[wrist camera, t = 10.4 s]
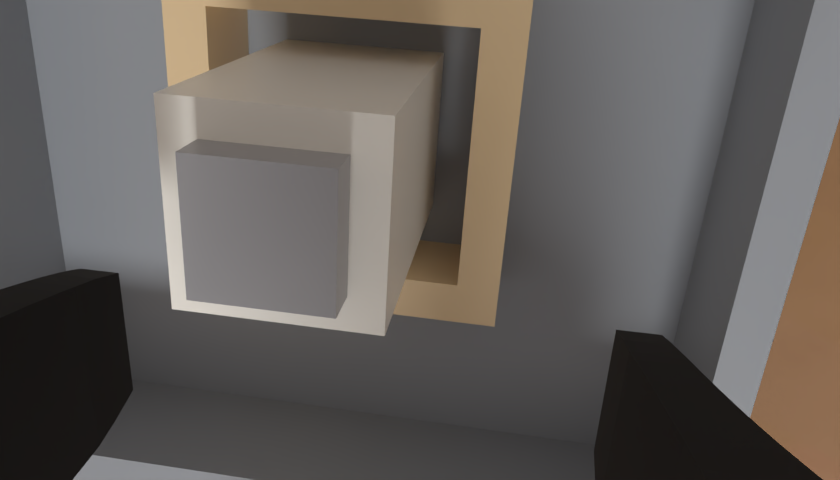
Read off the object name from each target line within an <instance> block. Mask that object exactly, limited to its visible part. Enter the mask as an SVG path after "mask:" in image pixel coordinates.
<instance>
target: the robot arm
mask: <svg viewBox="0 0 840 480" xmlns="http://www.w3.org/2000/svg"><path fill="white" fill-rule="evenodd" d="M132 391H133V384H132V376H131V368H130V360H129V352H128V344H127V336H126V328H125V320H124V312H123V303H122V295H121V287H120V279H119V273H115V272H106V271H97V270H89V269H75V270H69V271H64V272H60V273H55V274H51V275H48V276H44V277H40V278H37V279H33V280H30V281H26V282H23V283H20V284H16V285H13V286H10V287H7V288H3V289H0V480H73V479H74V477H75V476H76V475H77V474H78V472H79V471H80V470H81V469H82V467H83V466H84V465H85V464H86V462H87V461H88V460H89V459H90V457H91V456H92V455H93V454H94V452H95V451H96V450H97V448H98V447H99V446H100V444H101V443H102V441H103V440H104V438H105V436H106V435H107V433H108V432H109V430H110V429H111V427H112V425H113V424H114V422H115V421H116V419H117V417H118V415H119V414H120V412H121V410H122V408H123V407H124V405H125V403H126V402H127V400H128V398H129V396H130V395H131V393H132ZM594 467H595V480H822V479H821V478H820V477H819V476H817V475H816V474H815V473H814V472H813V471H811V470H810V469H809V468H808V467H807V466H805V465H804V464H803V463H802V462H800V461H799V460H798V459H797V458H796V457H794V456H793V455H792V454H791V453H790V452H788V451H787V450H786V449H785V448H784V447H782V446H781V445H780V444H779V443H778V442H776V441H775V440H774V439H773V438H772V437H771V436H770V435H768V434H767V433H766V432H765V431H764V430H763V429H762V428H760V427H759V426H758V425H757V424H756V423H755V422H754V421H753V420H752V419H750V418H749V417H748V416H747V415H746V414H745V413H744V412H743V411H742V410H741V409H740V408H738V407H737V406H736V405H735V404H734V403H733V402H732V401H731V400H730V399H729V398H728V397H727V396H726V395H725V394H724V393H723V392H722V391H721V390H719V389H718V388H717V387H716V386H715V385H714V384H713V383H712V382H711V381H710V380H709V379H708V378H707V377H706V376H705V375H704V374H703V373H702V372H701V371H700V370H699V369H698V368H697V367H696V366H695V365H694V364H693V363H692V362H691V361H690V360H689V359H688V358H687V357H686V356H685V355H684V354H683V353H681V352H680V351H679V350H678V349H677V348H676V347H675V346H674V345H673V344H672V343H671V342H670V341H669V340H668V339H666V338H665V337H664V336H663V335H658V334H650V333H641V332H632V331H623V330H616V333H615V338H614V344H613V349H612V355H611V360H610V365H609V371H608V376H607V382H606V387H605V393H604V398H603V404H602V409H601V414H600V420H599V425H598V431H597V436H596V442H595V447H594Z"/></svg>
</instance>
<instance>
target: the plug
mask: <svg viewBox="0 0 840 480" xmlns="http://www.w3.org/2000/svg"><path fill="white" fill-rule="evenodd" d="M443 58H444V53H442V52H430V51H419V50H407V49H395V48H383V47H371V46H359V45H347V44H336V43H324V42H312V41H300V40H288V39H287V40H284V41H282V42H279V43H277V44H274V45H272V46H269V47H267V48H264V49H262V50H259V51H257V52H254V53H252V54H249V55H247V56H244V57H242V58H239V59H237V60H234V61H232V62H229V63H227V64H224V65H222V66H219V67H217V68H214V69H212V70H209V71H207V72H204V73H202V74H199V75H197V76H194V77H192V78H189V79H187V80H184V81H182V82H180V83H177V84H175V85H172V86H170V87H167V88H165V89H162V90H160V91H157V92H155V93H153V95H154V107H155V118H156V130H157V142H158V153H159V165H160V176H161V188H162V200H163V211H164V223H165V235H166V246H167V258H168V270H169V281H170V293H171V305H172V309H175V310H183V311H191V312H199V313H207V314H214V315H222V316H230V317H238V318H246V319H254V320H261V321H269V322H277V323H285V324H293V325H301V326H309V327H316V328H324V329H332V330H340V331H348V332H356V333H364V334H371V335H379V336H385V334H386V331H387V328H388V326H389V323H390V320H391V317H392V315H393V312H394V309H395V306H396V304H397V301H398V298H399V295H400V293H401V290H402V287H403V285H404V282H405V279H406V276H407V274H408V271H409V268H410V265H411V263H412V260H413V257H414V254H415V252H416V249H417V246H418V243H419V241H420V238H421V235H422V233H423V230H424V227H425V224H426V222H427V219H428V216H429V213H430V211H431V208H432V205H433V194H434V181H435V167H436V153H437V140H438V126H439V112H440V99H441V85H442V71H443Z"/></svg>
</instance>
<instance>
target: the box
mask: <svg viewBox="0 0 840 480" xmlns="http://www.w3.org/2000/svg"><path fill="white" fill-rule="evenodd" d="M287 39H288V40H300V41H312V42H324V43H336V44H347V45H359V46H371V47H383V48H395V49H407V50H419V51H430V52H442V53H444V58H443V71H442V85H441V99H440V112H439V126H438V140H437V153H436V167H435V181H434V194H433V205H432V208H431V211H430V213H429V216H428V219H427V222H426V224H425V227H424V230H423V233H422V235H421V238H420V241H419V243H418V246H417V249H416V252H415V254H414V257H413V260H412V263H411V265H410V268H409V271H408V274H407V276H406V279H405V282H404V285H403V287H402V290H401V293H400V295H399V298H398V301H397V304H396V306H395V309H394V312H393V315H392V317H391V320H390V323H389V326H388V328H387V331H386V334H385V336H379V335H371V334H364V333H356V332H348V331H340V330H332V329H324V328H316V327H309V326H301V325H293V324H285V323H277V322H269V321H261V320H254V319H246V318H238V317H230V316H222V315H214V314H207V313H199V312H191V311H183V310H175V309H172V305H171V293H170V281H169V270H168V258H167V246H166V235H165V223H164V211H163V200H162V188H161V176H160V165H159V153H158V142H157V130H156V118H155V107H154V95H153V93H155V92H157V91H160V90H162V89H165V88H167V87H170V86H172V85H175V84H177V83H180V82H182V81H184V80H187V79H189V78H192V77H194V76H197V75H199V74H202V73H204V72H207V71H209V70H212V69H214V68H217V67H219V66H222V65H224V64H227V63H229V62H232V61H234V60H237V59H239V58H242V57H244V56H247V55H249V54H252V53H254V52H257V51H259V50H262V49H264V48H267V47H269V46H272V45H274V44H277V43H279V42H282V41H284V40H287ZM839 118H840V0H0V289H3V288H7V287H10V286H13V285H16V284H20V283H23V282H26V281H30V280H33V279H37V278H40V277H44V276H48V275H51V274H55V273H60V272H64V271H69V270H75V269H89V270H97V271H106V272H115V273H119V279H120V287H121V295H122V303H123V312H124V320H125V328H126V336H127V344H128V352H129V360H130V368H131V376H132V384H133V391H132V393H131V395H130V396H129V398H128V400H127V402H126V403H125V405H124V407H123V408H122V410H121V412H120V414H119V415H118V417H117V419H116V421H115V422H114V424H113V425H112V427H111V429H110V430H109V432H108V433H107V435H106V436H105V438H104V440H103V441H102V443H101V444H100V446H99V447H98V448H97V450H96V451H95V452H94V454H93V455H92V456H91V457H90V459H89V460H88V461H87V462H86V464H85V465H84V466H83V467H82V469H81V470H80V471H79V472H78V474H77V475H76V476H75V477H74V479H73V480H595V467H594V447H595V442H596V436H597V431H598V425H599V420H600V414H601V409H602V404H603V398H604V393H605V387H606V382H607V376H608V371H609V365H610V360H611V355H612V349H613V344H614V338H615V333H616V330H623V331H632V332H641V333H650V334H658V335H663V336H664V337H665V338H666V339H668V340H669V341H670V342H671V343H672V344H673V345H674V346H675V347H676V348H677V349H678V350H679V351H680V352H681V353H683V354H684V355H685V356H686V357H687V358H688V359H689V360H690V361H691V362H692V363H693V364H694V365H695V366H696V367H697V368H698V369H699V370H700V371H701V372H702V373H703V374H704V375H705V376H706V377H707V378H708V379H709V380H710V381H711V382H712V383H713V384H714V385H715V386H716V387H717V388H718V389H719V390H721V391H722V392H723V393H724V394H725V395H726V396H727V397H728V398H729V399H730V400H731V401H732V402H733V403H734V404H735V405H736V406H737V407H738V408H740V409H741V410H742V411H743V412H744V413H745V414H746V415H747V416H748V417H749V418H750V416H751V412H752V409H753V406H754V402H755V399H756V396H757V392H758V389H759V386H760V382H761V379H762V376H763V372H764V369H765V365H766V362H767V359H768V355H769V352H770V349H771V345H772V342H773V339H774V335H775V332H776V329H777V325H778V322H779V319H780V315H781V312H782V309H783V305H784V302H785V299H786V295H787V292H788V288H789V285H790V282H791V278H792V275H793V272H794V268H795V265H796V262H797V258H798V255H799V252H800V248H801V245H802V242H803V238H804V235H805V232H806V228H807V225H808V221H809V218H810V215H811V211H812V208H813V205H814V201H815V198H816V195H817V191H818V188H819V185H820V181H821V178H822V175H823V171H824V168H825V165H826V161H827V158H828V155H829V151H830V148H831V144H832V141H833V138H834V134H835V131H836V128H837V124H838V121H839Z"/></svg>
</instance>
